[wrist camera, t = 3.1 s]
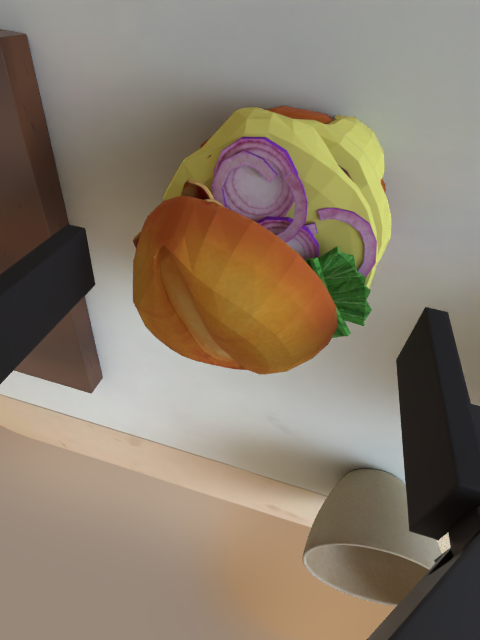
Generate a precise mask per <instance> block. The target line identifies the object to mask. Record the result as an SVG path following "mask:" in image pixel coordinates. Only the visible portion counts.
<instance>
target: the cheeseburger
mask: <svg viewBox="0 0 480 640" xmlns="http://www.w3.org/2000/svg"><path fill="white" fill-rule="evenodd" d="M334 118H335V119H336V120H334V119H332V118H331V117H330V116H328V115H327V114H324V113H318V112H313V111H308V110H302V109H297V108H292V107H286V106H280V107H276V108H272V109H268V110H264V109H262V108H257V107H248V108H242V109H239V110H236V111H235V112H234V113H233V114H232V115H231V116H230V117H229V118H228V119H227V121H226V122H225V123H224V124H223V125H222V126H221V127H220V128H219V129H218V130H217V132H216V133H215V134H214V135H213V136H212V137H210V138H209V139H208V140H207V141H206V142H204V143H203V144H202V145H201V148H200V149H199V150H197V151H196V152H194V153H193V154H191V155H190V156H188V157H186V158H185V159H183V161H182V163H181V165H180V166H179V168H178V169H177V171H176V173H175V175H174V177H173V179H172V180H171V182H170V184H169V186H168V188H167V190H166V191H165V193H164V195H163V202H162V203H161V204H160V205H159V206H158V207H157V208H156V209H155V210H154V211H152V212H151V213H150V214H149V215H148V217H147V219H146V221H145V223H144V226H143V228H142V231H141V232H140V233H139V234H138V235H136V236H135V237H134V240H133V242H134V245H135V247H136V253H135V257H134V263H133V302H134V304H135V306H136V308H137V310H138V312H139V314H140V316H141V318H142V320H143V322H144V324H145V326H146V327H147V328H148V329H149V330H150V332H151V333H152V334H153V335H154V336H155V337H156V338H157V339H159V340H160V341H161V342H162V343H164V344H165V345H166V346H168V347H169V348H170V349H172V350H173V351H175V352H177V353H178V354H180V355H182V356H184V357H187V358H190V359H192V360H195V361H199V362H203V363H207V364H212V365H216V366H221V367H226V368H232V369H241V370H249V371H252V372H255V373H258V374H271V373H278V372H286V371H288V370H290V369H292V368H294V367H296V366H298V365H300V364H302V363H304V362H306V361H308V360H310V359H312V358H313V357H315V356H316V355H317V354H318V353H319V352H320V351H321V350H322V349H323V348H324V347H325V346H327V345H328V343H329V342H330V340H331V338H333V337H341V336H348V335H349V334H350V331H349V329H348V327H347V325H346V323H345V322H344V320H345V321H349V322H352V323H355V324H359V325H362V326H364V325H365V323H364V321H365V320H366V318H367V316H368V315H369V313H370V312H371V308H370V306H369V304H368V302H367V300H366V299H367V297H368V295H369V293H370V289H369V288H370V285H371V282H372V280H373V277H374V274H375V270H376V264H377V263H378V262H379V261H380V260H381V257H382V255H383V253H384V251H385V249H386V246H387V244H388V242H389V240H390V237H391V213H390V209H389V204H388V200H387V197H386V195H385V184H384V181H383V179H382V177H383V174H384V171H385V168H384V152H383V150H382V148H381V146H380V144H379V142H378V140H377V138H376V136H375V134H374V132H373V130H371V129H370V128H369V127H367V126H366V125H365V124H363V123H362V122H361V121H359V120H358V119H357V118H355V117H350V116H340V115H338V116H334Z"/></svg>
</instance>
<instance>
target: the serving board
mask: <svg viewBox="0 0 480 640" xmlns="http://www.w3.org/2000/svg"><path fill="white" fill-rule="evenodd" d="M67 224H68V219H67V215H66V210H65V206H64V201H63V197H62V192H61V188H60V183H59V179H58V174H57V170H56V165H55V161H54V156H53V152H52V147H51V143H50V138H49V134H48V129H47V125H46V120H45V116H44V111H43V107H42V102H41V98H40V93H39V89H38V84H37V80H36V75H35V71H34V66H33V62H32V57H31V53H30V48H29V44H28V39H27V35H26V34H23V33H17V32H11V31H5V30H0V274H2V273H3V272H4V271H6V270H7V269H8V268H10V267H11V266H12V265H14V264H15V263H16V262H18V261H19V260H20V259H22V258H23V257H24V256H26V255H27V254H28V253H30V252H31V251H32V250H34V249H35V248H36V247H38V246H39V245H40V244H42V243H43V242H44V241H46V240H47V239H48V238H50V237H51V236H52V235H54V234H55V233H56V232H58V231H59V230H60V229H62V228H63V227H64V226H66V225H67ZM14 371H18V372H21V373H24V374H28V375H31V376H34V377H38V378H41V379H44V380H48V381H51V382H55V383H58V384H61V385H65V386H68V387H71V388H75V389H78V390H81V391H85V392H88V393H92V392H93V391H94V389H95V388H96V386H97V385H98V384H99V382H100V381H101V379H102V378H103V377H102V373H101V368H100V364H99V359H98V355H97V350H96V346H95V341H94V337H93V332H92V328H91V323H90V319H89V314H88V310H87V305H86V301H85V296H84V297H83V298H82V299H81V300H80V301H79V302H78V303H77V304H76V305H75V306H74V307H73V308H72V310H71V311H70V312H69V313H68V314H67V315H66V316H65V317H64V318H63V319H62V320H61V321H60V322H59V323H58V324H57V325H56V326H55V327H54V328H53V329H52V330H51V331H50V333H49V334H48V335H47V336H46V337H45V338H44V339H43V340H42V341H41V342H40V343H39V344H38V345H37V346H36V347H35V348H34V349H33V350H32V351H31V352H30V353H29V355H28V356H27V357H26V358H25V359H24V360H23V361H22V362H21V363H20V364H19V365H18V366H17V367H16V368H15V369H14Z"/></svg>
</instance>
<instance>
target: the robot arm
mask: <svg viewBox="0 0 480 640" xmlns="http://www.w3.org/2000/svg"><path fill="white" fill-rule="evenodd" d="M94 285H95V280H94V275H93V269H92V264H91V258H90V253H89V248H88V242H87V237H86V231H85V228H82V227H77V226H73V225H69V224H67V225H66V226H64V227H63V228H62V229H60V230H59V231H58V232H56V233H55V234H54V235H52V236H51V237H50V238H48V239H47V240H46V241H44V242H43V243H42V244H40V245H39V246H38V247H36V248H35V249H34V250H32V251H31V252H30V253H28V254H27V255H26V256H24V257H23V258H22V259H20V260H19V261H18V262H16V263H15V264H14V265H12V266H11V267H10V268H8V269H7V270H6V271H4V272H3V273H2V274H0V384H1V383H2V382H3V381H4V380H5V379H6V378H7V377H8V375H9V374H10V373H11V372H12V371H13V370H14V369H15V368H16V367H17V366H18V365H19V364H20V363H21V362H22V361H23V360H24V359H25V358H26V357H27V356H28V355H29V353H30V352H31V351H32V350H33V349H34V348H35V347H36V346H37V345H38V344H39V343H40V342H41V341H42V340H43V339H44V338H45V337H46V336H47V335H48V334H49V333H50V331H51V330H52V329H53V328H54V327H55V326H56V325H57V324H58V323H59V322H60V321H61V320H62V319H63V318H64V317H65V316H66V315H67V314H68V313H69V312H70V311H71V310H72V308H73V307H74V306H75V305H76V304H77V303H78V302H79V301H80V300H81V299H82V298H83V297H84V296H85V295H86V294H87V293H88V292H89V291H90V290H91V289H92V288H93V286H94ZM396 363H397V376H398V389H399V402H400V416H401V429H402V442H403V456H404V469H405V482H406V495H407V509H408V522H409V531H410V532H413V533H416V534H420V535H423V536H426V537H429V538H433V539H436V540H439V539H440V538H441V537H443V536H444V535H445V534H446V533H448V532H449V538H450V545H451V548H450V549H448V550H447V551H446V552H444V553H443V554H442V555H440V556H439V557H438V558H436V559H435V560H434V562H435V564H434V565H433V566H432V568H431V569H430V570H429V571H428V572H427V573H426V574H425V575H424V576H423V578H422V579H421V580H420V581H419V582H418V583H417V584H416V585H415V586H414V588H413V589H412V590H411V591H410V592H409V593H408V594H407V595H406V596H405V598H404V599H403V600H402V601H401V602H400V603H399V604H398V605H397V607H396V608H395V609H394V610H393V611H392V612H391V613H390V614H389V615H388V617H387V618H386V619H385V620H384V621H383V622H382V623H381V624H380V625H379V627H378V628H377V629H376V630H375V631H374V632H373V633H372V634H371V635H370V637H369V638H368V639H367V640H480V406H477V405H473V404H471V403H470V399H469V395H468V391H467V387H466V383H465V379H464V375H463V371H462V367H461V363H460V359H459V355H458V351H457V347H456V343H455V339H454V335H453V331H452V327H451V323H450V319H449V315H448V312H445V311H440V310H436V309H432V308H427V307H425V309H424V311H423V312H422V314H421V316H420V318H419V320H418V321H417V323H416V325H415V327H414V329H413V330H412V332H411V334H410V336H409V338H408V340H407V341H406V343H405V345H404V347H403V349H402V350H401V352H400V354H399V356H398V358H397V360H396Z"/></svg>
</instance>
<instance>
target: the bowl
mask: <svg viewBox="0 0 480 640" xmlns="http://www.w3.org/2000/svg"><path fill="white" fill-rule="evenodd" d="M440 555H442V553H441V550H440V548H439V545H438V542H437V540H436V539H433V538H429V537H426V536H423V535H420V534H416V533H413V532H410V531H409V522H408V509H407V495H406V486H405V484H404V483H403V482H402V481H401V480H400V479H399V478H397V477H396V476H394V475H392V474H389V473H387V472H384V471H380V470H374V469H358V470H354V471H351V472H349V473H347V474H346V475H345V476H344V477H343V478H342V479H341V480H340V481H339V483H338V484H337V485H336V486H335V487H334V489H333V490H332V491H331V493H330V494H329V496H328V497H327V499H326V500H325V502H324V503H323V505H322V507H321V509H320V510H319V512H318V514H317V516H316V518H315V521H314V523H313V525H312V528H311V531H310V533H309V536H308V540H307V543H306V546H305V550H304V553H303V564H304V566H305V567H306V568H307V570H308V571H309V572H310V573H311V574H312V575H314V576H315V577H316V578H317V579H319V580H320V581H322V582H324V583H325V584H327V585H329V586H331V587H333V588H335V589H337V590H339V591H341V592H344V593H346V594H349V595H352V596H355V597H358V598H361V599H364V600H368V601H371V602H375V603H381V604H385V605H391V606H397V605H398V604H399V603H400V602H401V601H402V600H403V599H404V598H405V596H406V595H407V594H408V593H409V592H410V591H411V590H412V589H413V588H414V586H415V585H416V584H417V583H418V582H419V581H420V580H421V579H422V578H423V576H424V575H425V574H426V573H427V572H428V571H429V570H430V569H431V568H432V566H433V565H434V564H435V562H434V560H435V559H436V558H438V557H439V556H440Z"/></svg>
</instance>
